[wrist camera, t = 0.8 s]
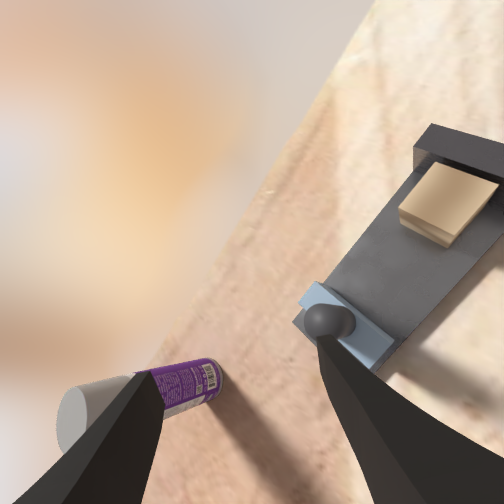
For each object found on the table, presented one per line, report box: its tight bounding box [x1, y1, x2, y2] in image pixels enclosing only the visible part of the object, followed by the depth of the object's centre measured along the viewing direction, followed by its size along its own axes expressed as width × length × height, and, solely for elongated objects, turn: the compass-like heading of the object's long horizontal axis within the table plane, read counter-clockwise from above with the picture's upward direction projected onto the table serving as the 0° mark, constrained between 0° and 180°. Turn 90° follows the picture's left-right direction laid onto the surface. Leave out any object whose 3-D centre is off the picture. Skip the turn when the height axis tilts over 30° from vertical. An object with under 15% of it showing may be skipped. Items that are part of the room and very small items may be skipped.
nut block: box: [398, 162, 499, 249], centre depth 19 cm, size 4×4×4 cm
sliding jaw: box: [298, 281, 395, 369], centre depth 19 cm, size 7×2×8 cm, turn 47°
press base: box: [292, 123, 504, 374], centre depth 20 cm, size 8×20×5 cm, turn 137°
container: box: [56, 358, 223, 454], centre depth 25 cm, size 5×5×15 cm
